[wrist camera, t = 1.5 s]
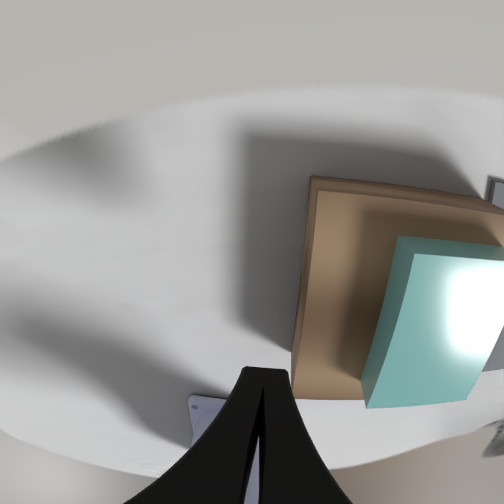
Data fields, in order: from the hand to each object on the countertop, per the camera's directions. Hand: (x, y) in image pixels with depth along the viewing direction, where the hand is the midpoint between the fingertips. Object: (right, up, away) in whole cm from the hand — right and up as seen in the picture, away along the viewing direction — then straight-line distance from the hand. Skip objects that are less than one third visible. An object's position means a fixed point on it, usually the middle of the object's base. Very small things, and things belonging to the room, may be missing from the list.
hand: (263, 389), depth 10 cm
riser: (+8, +3, +8) cm, 11 cm away
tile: (+8, +1, +4) cm, 9 cm away
